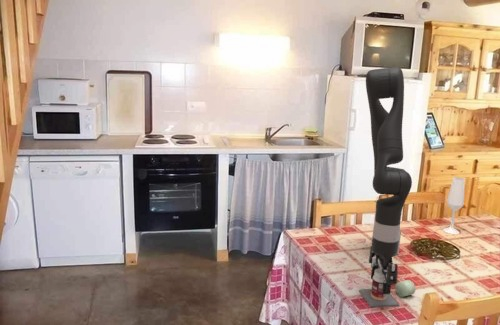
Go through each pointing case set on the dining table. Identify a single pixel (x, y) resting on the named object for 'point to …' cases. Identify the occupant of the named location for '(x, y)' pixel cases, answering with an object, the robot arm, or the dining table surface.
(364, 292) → the plate
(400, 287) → the green tub
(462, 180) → the champagne flute
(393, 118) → the robot arm
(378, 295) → the pill bottle
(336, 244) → the dining table surface
